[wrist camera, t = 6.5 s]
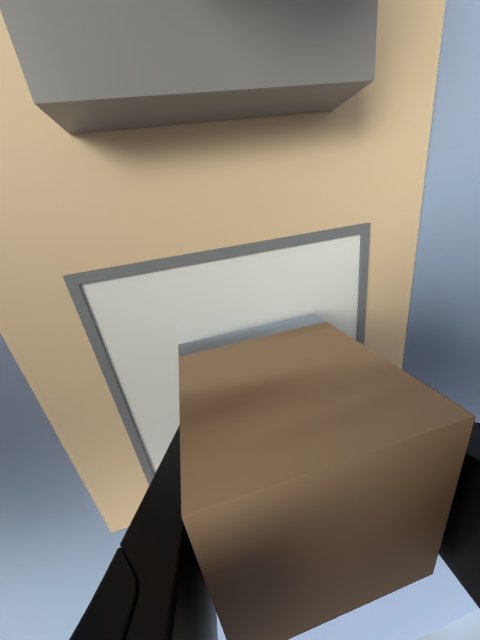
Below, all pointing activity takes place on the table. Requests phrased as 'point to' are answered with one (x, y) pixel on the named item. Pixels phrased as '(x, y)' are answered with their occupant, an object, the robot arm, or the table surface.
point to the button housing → (189, 58)
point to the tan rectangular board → (203, 244)
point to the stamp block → (310, 474)
